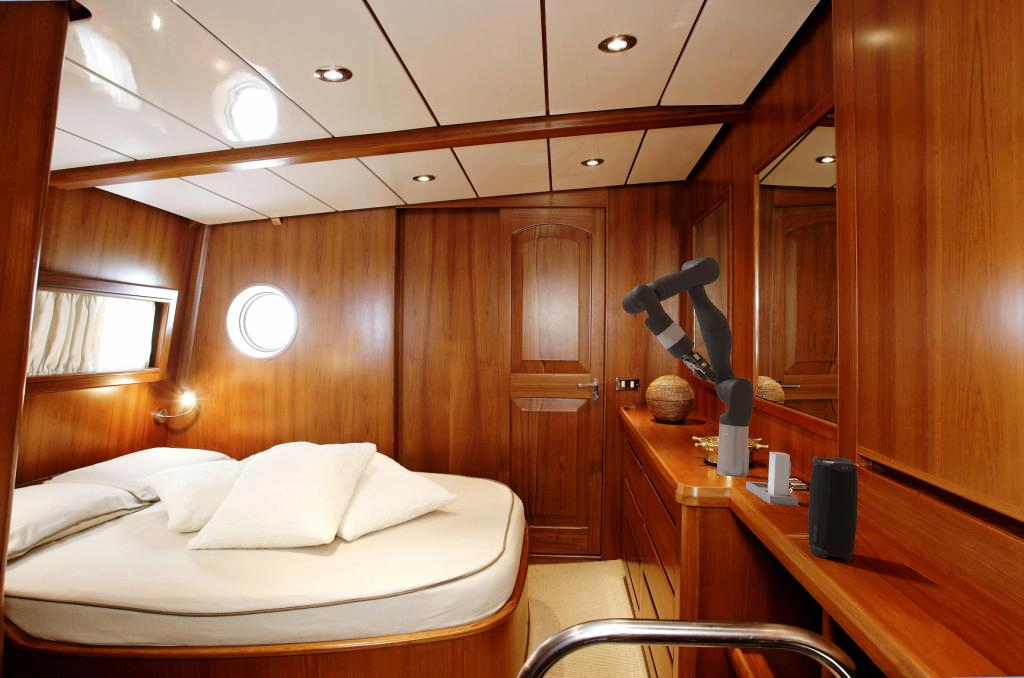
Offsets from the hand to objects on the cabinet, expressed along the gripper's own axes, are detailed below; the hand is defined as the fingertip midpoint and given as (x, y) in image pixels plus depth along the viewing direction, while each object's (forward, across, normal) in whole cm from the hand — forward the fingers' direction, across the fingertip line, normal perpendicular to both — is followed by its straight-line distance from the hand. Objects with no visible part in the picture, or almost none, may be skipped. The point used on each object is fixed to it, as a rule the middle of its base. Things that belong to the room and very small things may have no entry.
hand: (711, 379), depth 165 cm
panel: (+34, -9, +12) cm, 37 cm away
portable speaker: (+30, -52, +17) cm, 62 cm away
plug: (+33, -14, +12) cm, 38 cm away
